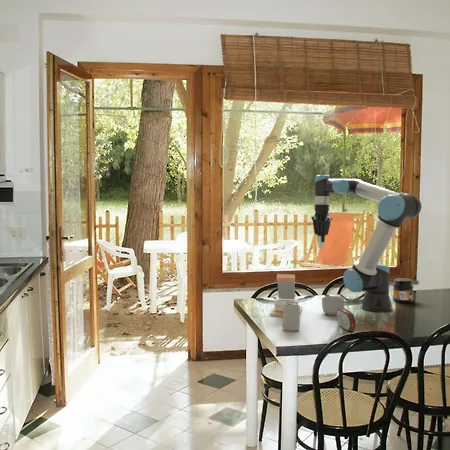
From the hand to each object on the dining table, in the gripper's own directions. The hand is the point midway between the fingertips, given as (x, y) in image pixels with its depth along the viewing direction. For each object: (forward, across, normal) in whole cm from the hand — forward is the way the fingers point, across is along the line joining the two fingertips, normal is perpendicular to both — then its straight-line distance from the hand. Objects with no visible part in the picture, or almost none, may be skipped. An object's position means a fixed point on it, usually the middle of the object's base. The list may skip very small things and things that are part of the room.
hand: (320, 247), depth 296 cm
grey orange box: (+23, -6, +31) cm, 39 cm away
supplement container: (+30, -26, -38) cm, 55 cm away
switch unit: (+29, -6, +31) cm, 43 cm away
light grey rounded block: (+30, -21, +14) cm, 39 cm away
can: (+30, -30, +52) cm, 67 cm away
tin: (+30, -43, +31) cm, 61 cm away
